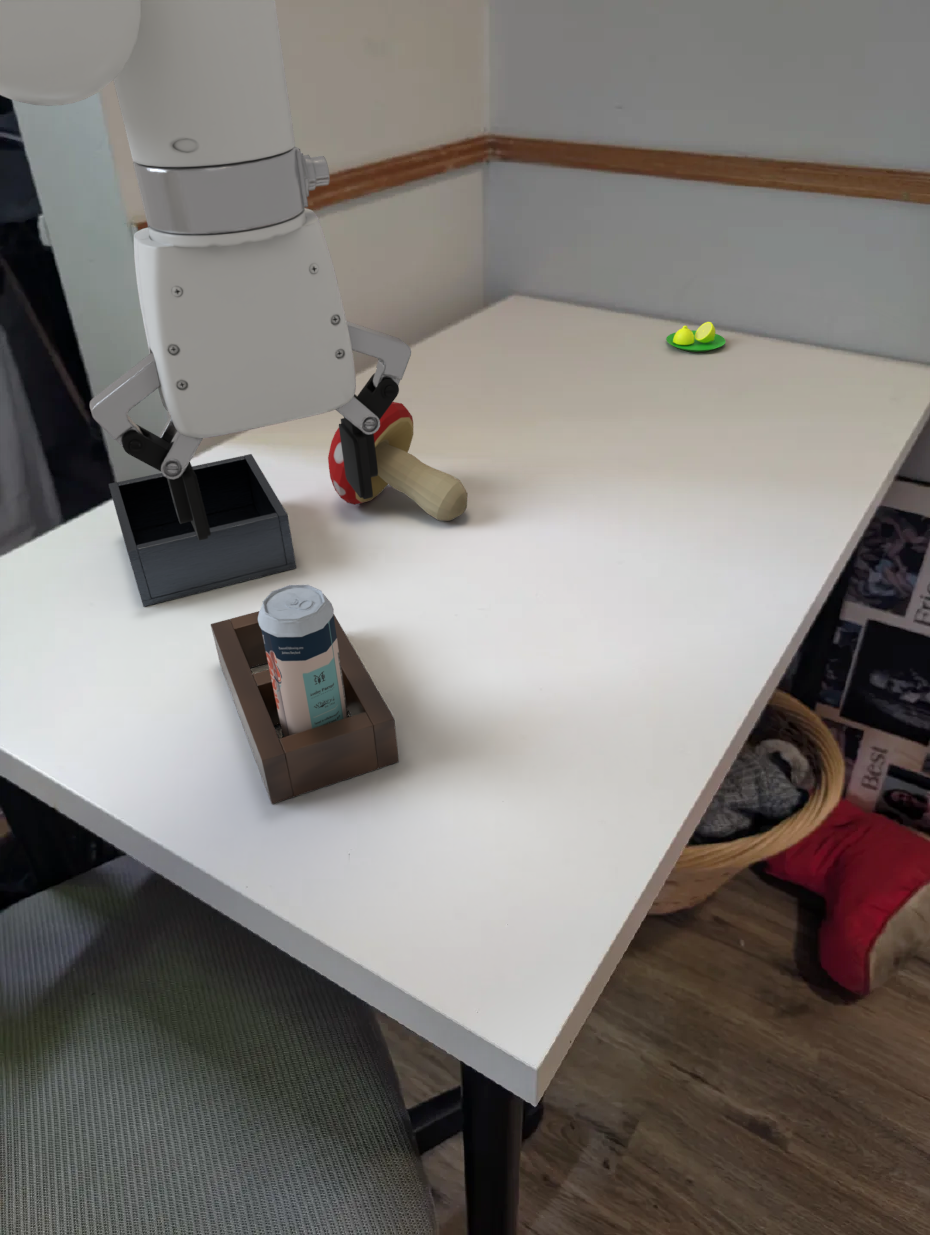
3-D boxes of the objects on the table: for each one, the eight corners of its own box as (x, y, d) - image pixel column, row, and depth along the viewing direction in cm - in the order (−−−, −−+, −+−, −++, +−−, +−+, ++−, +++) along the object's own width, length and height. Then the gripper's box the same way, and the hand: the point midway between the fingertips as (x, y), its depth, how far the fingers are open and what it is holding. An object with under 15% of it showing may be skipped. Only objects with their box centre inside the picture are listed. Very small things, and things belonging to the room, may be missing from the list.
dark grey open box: (143, 607, 79) (127, 551, 76) (123, 535, 89) (108, 483, 86) (296, 568, 83) (287, 514, 80) (260, 504, 94) (251, 453, 90)
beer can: (303, 712, 67) (278, 575, 60) (362, 726, 66) (344, 587, 59) (271, 757, 64) (240, 616, 57) (333, 772, 62) (309, 629, 55)
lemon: (707, 332, 131) (710, 312, 129) (735, 350, 125) (738, 329, 123) (655, 338, 129) (657, 318, 128) (681, 357, 123) (684, 336, 121)
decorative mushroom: (506, 465, 93) (387, 392, 95) (478, 452, 82) (344, 370, 85) (451, 559, 95) (336, 485, 98) (416, 559, 84) (288, 475, 87)
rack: (271, 804, 60) (261, 760, 58) (220, 664, 72) (210, 623, 70) (399, 762, 63) (394, 718, 60) (328, 634, 75) (322, 593, 73)
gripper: (368, 161, 49) (397, 451, 60) (28, 206, 44) (123, 516, 54) (419, 185, 44) (442, 501, 54) (37, 240, 39) (141, 578, 49)
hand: (282, 508), depth 54 cm, fingers open, 9 cm apart
